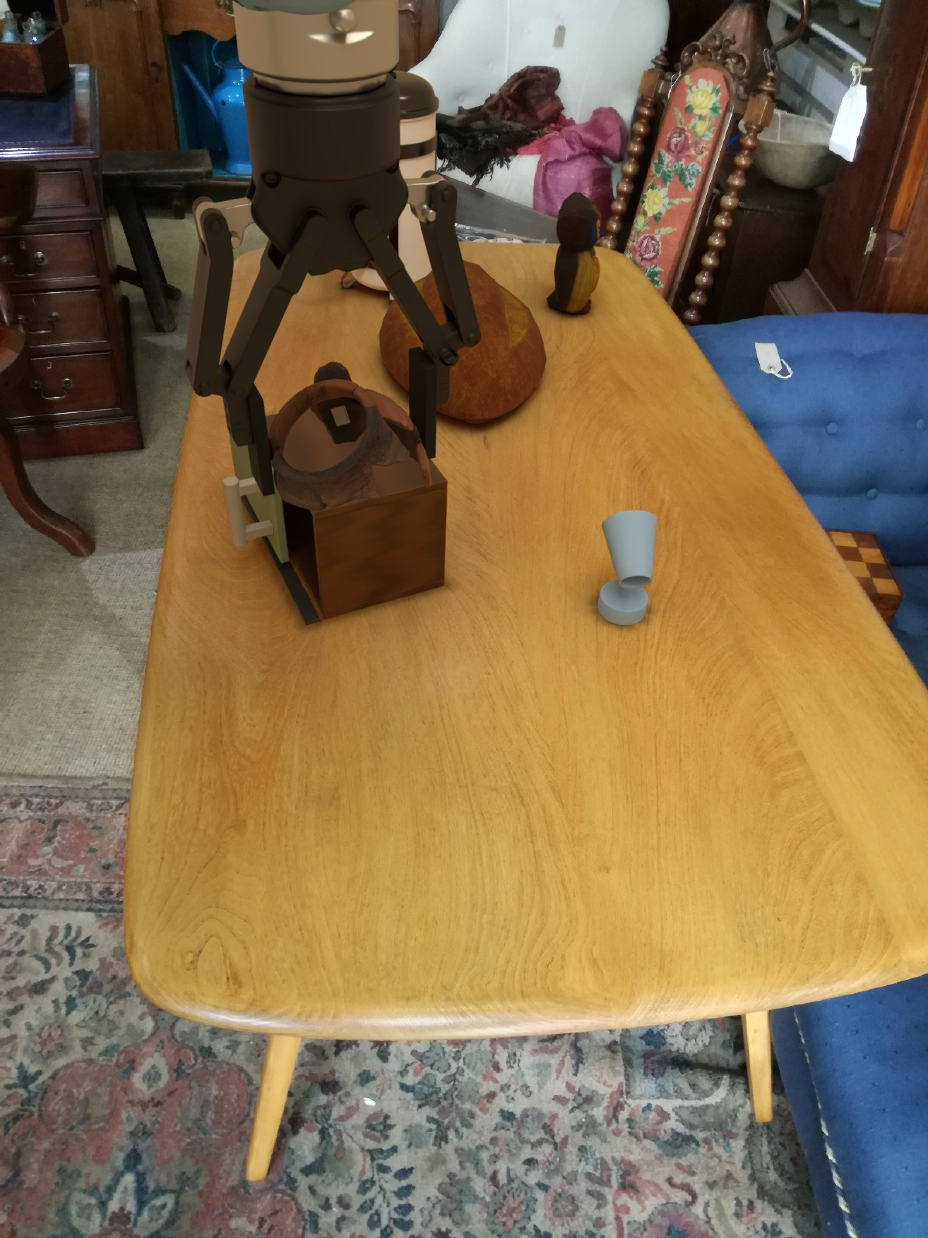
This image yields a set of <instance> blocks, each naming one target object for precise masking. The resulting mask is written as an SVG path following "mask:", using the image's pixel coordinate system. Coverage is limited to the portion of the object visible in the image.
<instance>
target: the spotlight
mask: <svg viewBox="0 0 928 1238" xmlns="http://www.w3.org/2000/svg"><path fill="white" fill-rule="evenodd" d="M601 529H602V532H603V535H604V538H605V543H606V547H607V549H608V552H609V556H610V560H611V563H612V566H613V569H614V573H615V576H616V579H615V580H610V581H608V582H606V583H604V584H603V585H602V586H601V588H600V590H599V595H598V599H597V605H596V606H597V607H596V608H597V611H598V613H599V615H600V616H601V617H602V618H603V619H604V620H606V621H608V623H609V622H610V623H612V624H615V625H620V626H632V625H635V624H639V623H640V622H641V621H642V620H644V618H645V616H646V612H647V609H648V604H649V594H648V592H647V591H646V590H645V587H648V586H650V585H651V584H652V582H653V575H654V562H655V555H656V554H655V552H656V542H657V531H658V517H657V515H655V514H654V513H652V512H649V511H646V510H640V509H630V510H624V511H623V510H622V511H619V512H615V513H613V514H611V515H609V516H607V517H606V518H605V519H604V520H603V521H602V523H601Z"/></svg>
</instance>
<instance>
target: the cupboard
mask: <svg viewBox="0 0 928 1238" xmlns="http://www.w3.org/2000/svg"><path fill="white" fill-rule="evenodd" d="M277 414H278V413H275V414H274V413H273V414H269V415H266V423H267V431H268V435H269V431H270V428H271V425H272V423H273V421H274V419H275V417H276V416H277ZM363 434H364V433H363ZM363 434H362V435H361V436H360V437H359V438H358V440H357V441H356V442H346V443H342V444H334V443H333V441H332V438H331V436H330V435H329V434H328V432H327V430H326V427H325V426H324V424H323V422H322V421H320V420H319V419H318V418H317V416H316V414H315V413H313V412H312V411H311V407H310V408H309V409H308V410H307V411H306V412H305V413H304V414H302V415H301V416H300V418H299V419H298V420H297V421H296V422H295V424H294V425H293V426H292V428H291V429H290V431H289V434H288V435H287V438H286V441H285V444H284V450H283V457H284V459H285V460H286V462H287V463H288V464H289V465H290V466H291V467H292V468H294V469H297V470H299V471H305V472H317V471H323V470H326V469H328V468H331V467H333V466H335V465H337V464H338V463H340V462H341V461H343V460H344V459H346V458H347V457H348V456H349V455H351V453H353V451H354V450H355V449H356V448H357V446H358V444H359V443H360V441H361V439H362V437H363ZM269 447H270V455H271V461H272V460H273V457H274V449H275V447H274V446H273V445H272V444H270V443H269ZM428 461H429V469H430V474H431V479H432V485H431V487H426V486H425V484H424V480H423V474H422V472H421V471H420V466H419V464H418V463H417V462H416V461H415V460H414V459H413V458H411V457H408V458H407V460H406V461H405V462H403V463H395V464H392V465H389V466H386V467H383V466H379V465H372V470H373V476H374V480H375V483H376V488H377V492H378V494H379V495H380V499H368V498H358V499H355V500H352V501H350V502H348V503H345V504H343V505H341V506H338V507H335V508H331V507H329V506H328V505H327V507H326V508H325V509H324V510H322V511H316V510H312V509H305V508H301V507H298V506H295V505H292V504H290V503H288V502H286V501H284V500H282V504H283V512H284V521H285V530H286V538H287V547H288V556H289V557H290V559H291V560H290V559H289V562H285V563H281V562H280V560H279V558H278V556H277V554H276V552H275V550H274V548H273V546H272V545H271V543H270V541H269V539H268V537H267V535H266V536H262V537H260V538H261V540H262V542H263V544H264V546H265V548H266V550H267V552H268V553H269V555H270V557H271V560H272V562H273V563H274V565H275V567H276V569H277V571H278V572H279V575H280V577H281V579H282V581H283V583H284V585H285V587H286V589H287V591H288V593H289V595H290V597H291V598H292V600H293V602H294V604H295V606H296V608H297V610H298V612H299V615H300V616H301V618H302V620H303V622H304V624H305V626H306V625H312V624H314V623H315V624H316V623H318V622H321V619H323V620H328V619H332V618H335V617H338V616H342V615H346V614H349V613H353V612H356V611H359V610H363V609H366V608H371V607H373V606H377V605H380V604H384V603H388V602H391V601H395V600H398V599H402V598H406V597H409V596H413V595H416V594H420V593H424V592H427V591H431V590H433V589H434V590H435V589H438V588H442V587H444V586H445V576H446V575H445V574H446V548H447V547H446V546H447V545H446V543H447V516H448V515H447V514H448V513H447V512H448V484H449V483H448V479H447V478H446V477H445V475H444V473H442V472H441V470H440V469H439V468H438V466H437V465H436V464H435V462H434V461H433V460H432V459H428ZM241 498H242V504H244V505H243V506H244V507H245V509H246V511H247V513H248V514H249V517H250V518H251V521H252V523H253V524H254V523H258V522H260V521H259V519H258V518H257V516H256V514H255V512H254V510H253V508H252V506H251V504H250V502H249V500H248V498H247V496H246V495H243V496H241ZM291 561H292V562H293V564H294V566H295V567H294V566H293V564H292V562H291ZM295 569H296V570H295ZM297 572H298V574H299V575H300V577H301V579H302V581H301V579H300V577H299V576H298V574H297ZM302 582H303V583H302ZM303 584H304V585H305V587H306V588H307V590H308V592H307V590H306V588H305V587H304V585H303ZM308 593H309V594H308ZM309 595H310V596H311V598H312V600H311V598H310V596H309ZM313 602H314V603H313ZM314 604H315V605H316V607H317V609H318V610H317V609H316V607H315V606H314ZM318 611H319V613H320V615H321V617H322V618H321V617H320V615H319V613H318Z"/></svg>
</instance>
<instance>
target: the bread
mask: <svg viewBox="0 0 928 1238" xmlns="http://www.w3.org/2000/svg"><path fill="white" fill-rule="evenodd" d="M463 263H464V267H465V271H466V275H467V279H468V283H469V287H470V292H471V296H472V300H473V304H474V308H475V312H476V316H477V320H478V324H479V328H480V332H481V339H480V342H479V343H478V344H477V345H476V346H474V347H467V346H464V347H463V348H461V349H459V350H457V352H458V354H459V360H458V362H457V364H456V365H455V366H453V367H452V368H450V382H449V383H450V386H449V398H448V401H447V403H446V404H444V405H439V406H437V412H439V413H441V414H443V415H445V416H448V417H451V418H453V419H456V420H460V421H462V422H463V421H464V422H465V423H466V422H467V423H470V424H483V423H486V422H488V421H491V420H494V419H496V418H500V417H502V416H505V415H506V414H508V413H510V412H511V411H512V410H514V409H516V408H517V407H519V406H520V405H521V404H522V403H523V402H525V401H526V400H527V399H528V398H529V397H530V395H531V394H532V393H533V391H534V390H535V389H536V388H537V387H538V385H539V384H540V383H541V380H542V377H543V375H544V372H545V371H546V364H547V359H548V358H547V354H546V350H545V342H544V339H543V337H542V336H543V335H542V333H541V330H540V327H539V326H538V325H539V324H537V321H536V319H535V318H534V315H533V313H532V311H531V309H530V307H529V306H527V305H526V304H525V303H524V302H523V301H522V300H521V299H520V298H519V297H517V296H516V295H515V294H514V293H512V292H511V291H510V290H509V289H507V288H506V287H505V286H503V285H502V284H500V283H499V282H498V281H497V280H495V278H493V277H492V276H491V275H490V274H489V272H487V271H486V270H485V269H484V268H483V267H482V266H481V265H480V264H478V263H475V262H472V261H468V260H464V259H463ZM414 284H415V286H416V287H417V289H418V290H419V292H420V294H421V295H422V297H423V299H424V300H425V302H426V304H427V305H428V307H429V309H430V310H431V312H432V314H433V315H434V317H435V319H436V320H437V322H438V324H439V325H442V324H444V323H445V322H446V319H445V316H444V312H443V308H442V305H441V301H440V297H439V294H438V290H437V286H436V283H435V279H434V275H433V272H432V271H431V272H430V273H429V274H428V275H427V276H426V277H424V278H421V279H419V280H417V281H415V282H414ZM379 329H380V330H379V333H378V341H379V351H380V356H381V360H382V362H383V365H384V367H385V369H386V370H387V371H388V373H389V374H390V376H391V377H392V378H393V379H394V380H395V381H396V382H397V383H398V384H399V385H400V386H401V387H402V388H403V389H404V390H405V391H406V392H408V393H409V349H410V348H415V347H421V348H422V350H423V343H422V342H421V341H420V339H419V338H418V336H417V334H416V333H415V331H414V330H413V328H412V327H411V325H410V323H409V322H408V320H407V319H406V317H405V316H404V314H403V312H402V311H401V309H400V308H399V306H398V305H397V303H396V301H395V300H393V301H392V302H391V304H390V303H389V306H388V308H387V310H386V312H385V314H384V316H383V319H382V322H381V326H380V328H379Z"/></svg>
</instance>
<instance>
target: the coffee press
mask: <svg viewBox="0 0 928 1238" xmlns="http://www.w3.org/2000/svg"><path fill="white" fill-rule="evenodd" d="M398 64H399V62H398V63H397V64H396V66H395V67H394V68H393V69H391V70H390V71H389V72H388V74H390V75H391V76H392V77H393V78H394V79H395V82H396V83H397V84H398V85H399V88H400V159H399V166H400V171H401V174H402V176H403V178H404V179H408V178H421V176H422V174H423V173H424V172H426V171H428V170H433V171H435V172H436V173H438V170H437V169H438V168H437V167H438V130H437V128H436V124H437V123H436V122H437V121H436V120H437V112H438V110H439V108H440V99H439V97H438V96H437V95H436V93H435V90H434V87H433V85H432V84H431V83H430V82H429V81H428V80H427V79H425V78H424V77H422V76H420V75H418V74H415V73H412V72H409V71H404V70H396V69H397V67H398ZM388 239H389V240H390V242H391V244H392V245H393V247H394V249H395V250H396V252H397V254H398V255H399V257H400V258H401V260H402V262H403V264H404V266H405V269H406V271H407V272H408V274H409V276H410V277H411V279H412V281H413V282H415V281H417V280H419V279H421V278H424V277H426V276H427V275H428V274H429V273H430V272H431V271H432V268H431V265H430V261H429V257H428V254H427V250H426V246H425V243H424V239H423V235H422V232H421V228H420V223H419V219H418V218H417V217H415V216H414V215H413V214H412V212H411V209H410V204H407V205H406V207H405V208H404V210H403V212H402V214H401V215H400V217H399V219H398V220H397V222H396V224H395V225H394V227H393V229H392V230H391V232H390V234H389V235H388ZM337 270H338V271H341V272H343V274H342V275H341V277H340V285H341V287H342V288H343V289H350V288H351V287H352V286H353V285H354V284H355V283H356V282H358V283H359V284H361V285H362V286H365V287H368V288H370V289H373V290H377V291H382V292H383V291H385V292H388V295H389V305H390V304H391V302H392V301H393V300H394V298H393V297H392V295H391V293H390V292H389V290H388V289H387V287H386V286H385V284H384V282H383V281H382V279H381V278H380V276H379V275H378V273H377V271H376V270H375V268H374V267H373V265H372V264H371V262H368V263H366V268H364V269H357V270H348V269H340V268H339V269H337ZM349 272H350V273H351V276H353V278H352V279H351V280H350V281H349V282H348V283H345V282H343V281H344V279H345V278H346V277H347V275H348V274H349Z"/></svg>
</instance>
